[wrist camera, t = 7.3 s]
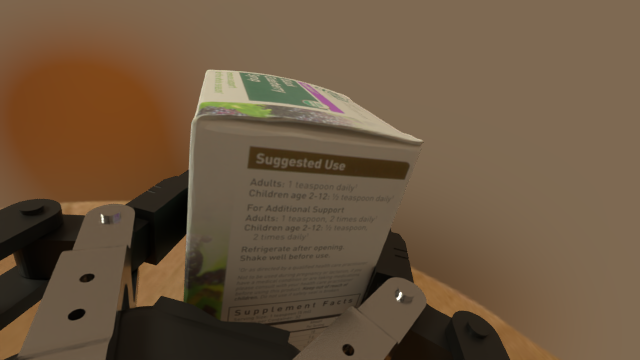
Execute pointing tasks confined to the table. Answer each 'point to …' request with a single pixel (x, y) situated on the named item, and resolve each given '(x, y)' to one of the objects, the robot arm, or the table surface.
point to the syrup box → (287, 201)
